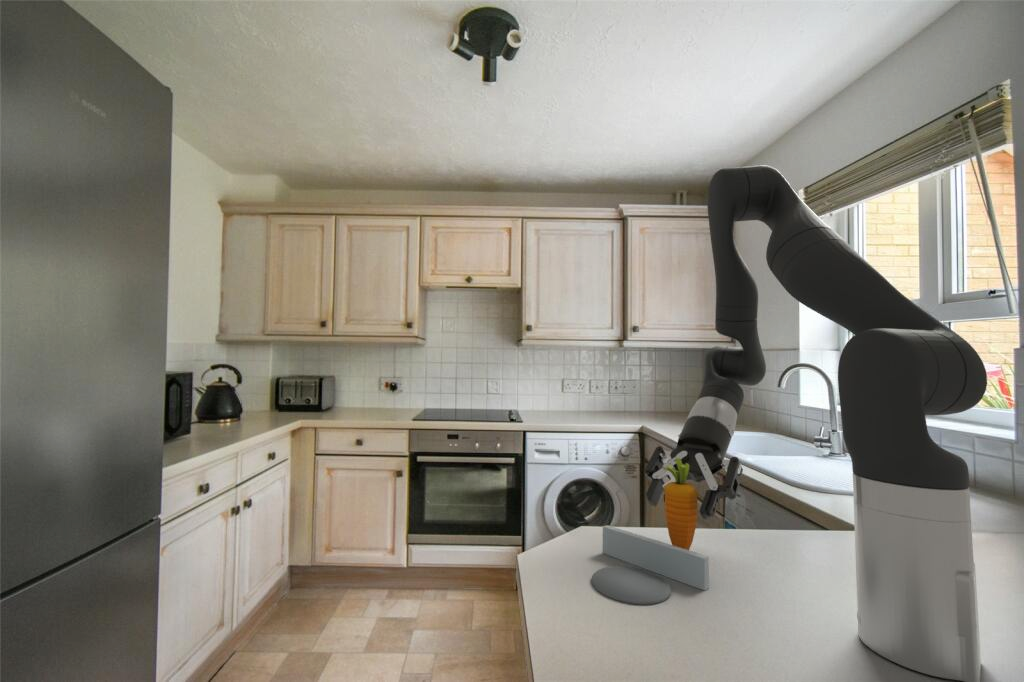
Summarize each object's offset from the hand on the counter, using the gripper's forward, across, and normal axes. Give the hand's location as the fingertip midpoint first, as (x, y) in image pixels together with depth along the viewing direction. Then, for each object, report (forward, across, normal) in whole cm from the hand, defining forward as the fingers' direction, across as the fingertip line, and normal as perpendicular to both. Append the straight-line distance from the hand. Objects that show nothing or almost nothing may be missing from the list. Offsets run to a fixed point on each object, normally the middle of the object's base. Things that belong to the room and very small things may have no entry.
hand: (676, 509), depth 68 cm
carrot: (+5, 0, +6) cm, 8 cm away
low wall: (+9, -1, +1) cm, 10 cm away
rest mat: (+14, 0, -4) cm, 15 cm away
